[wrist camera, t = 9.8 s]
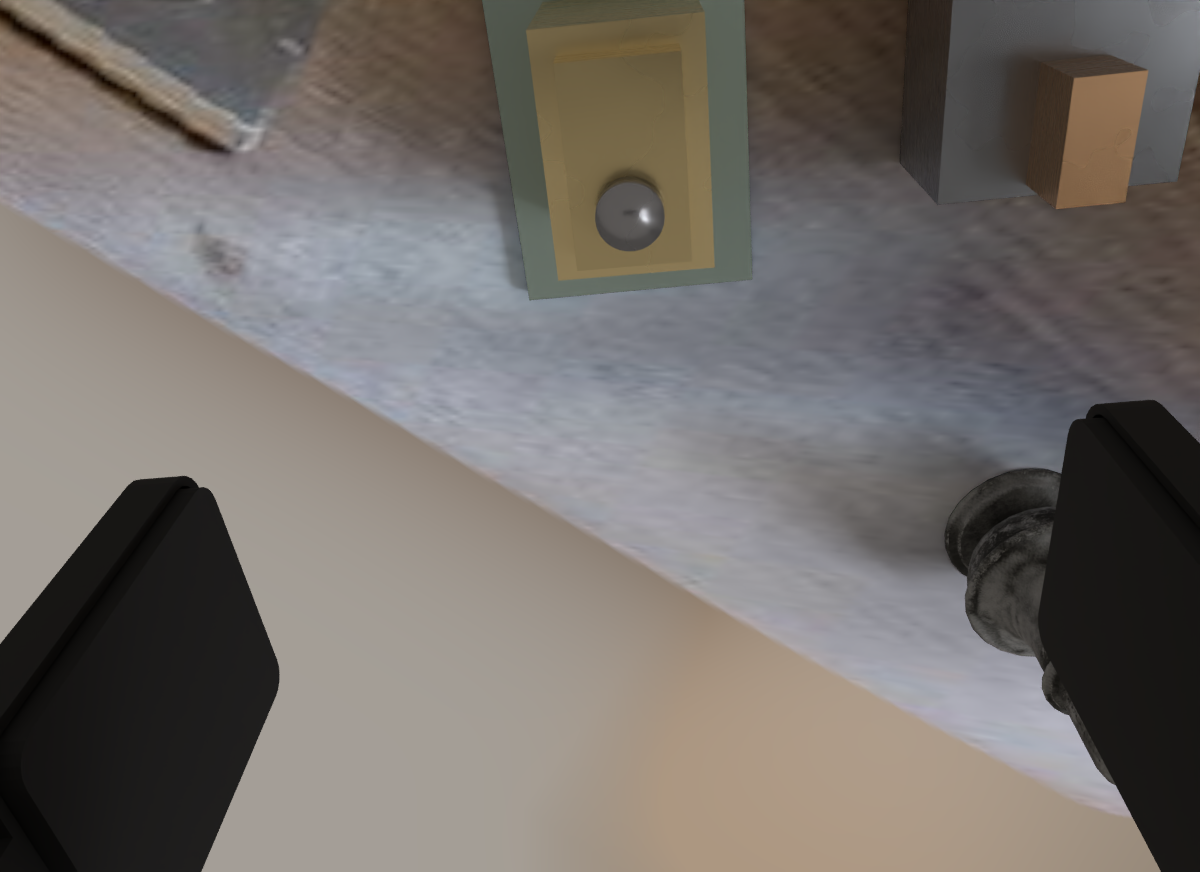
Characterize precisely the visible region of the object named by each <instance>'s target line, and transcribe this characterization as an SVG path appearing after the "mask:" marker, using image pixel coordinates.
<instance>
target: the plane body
mask: <svg viewBox="0 0 1200 872" xmlns="http://www.w3.org/2000/svg"><path fill="white" fill-rule="evenodd" d="M1199 71H1200V0H908V18H907V37H906V56H905V75H904V94H903V113H902V133H901V152H900V164H901V165H902V166H903V167H904V168H905V169H906V170H907V171H908V173H909V174H910V175H911V176H912V177H913V178H914V179H915V180H916V181H917V182H918V184H919V185H920V186H921V187H922V188H923V189H924V190H925V191H926V192H927V193H928V195H929V196H930V197H931V198H932V199H933V200H934V201H935V202H936V203H937V205H940V204H950V203H960V202H971V201H981V200H991V199H1001V198H1012V197H1022V196H1032V195H1039V196H1040V197H1042V198H1043V199H1044V200H1045V201H1046V202H1048V203H1049V204H1050V205H1051V206H1053V207H1054V208H1055V209H1062V208H1073V207H1083V206H1094V205H1104V204H1114V203H1125V200H1126V195H1127V189H1128V186H1135V185H1145V184H1155V183H1166V182H1176V181H1177V180H1178V175H1179V170H1180V165H1181V160H1182V155H1183V150H1184V145H1185V140H1186V135H1187V130H1188V125H1189V121H1190V116H1191V111H1192V106H1193V101H1194V96H1195V91H1196V86H1197V81H1198V76H1199Z"/></svg>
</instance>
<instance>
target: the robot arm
mask: <svg viewBox="0 0 1200 872" xmlns="http://www.w3.org/2000/svg"><path fill="white" fill-rule="evenodd" d="M1038 628H1039V634H1040V638H1041V642H1042V645H1043V647H1044V649H1045V651H1046V653H1047V655H1048V657H1049V659H1050V661H1051V663H1052V665H1053V667H1054V669H1055V670H1056V672H1057V674H1058V676H1059V678H1060V680H1061V682H1062V684H1063V686H1064V688H1065V690H1066V691H1067V693H1068V695H1069V697H1070V699H1071V701H1072V703H1073V705H1074V707H1075V709H1076V710H1077V712H1078V714H1079V716H1080V718H1081V720H1082V722H1083V724H1084V726H1085V728H1086V730H1087V731H1088V733H1089V735H1090V737H1091V739H1092V741H1093V743H1094V745H1095V747H1096V749H1097V750H1098V752H1099V754H1100V756H1101V758H1102V760H1103V762H1104V764H1105V766H1106V768H1107V770H1108V771H1109V773H1110V775H1111V777H1112V779H1113V781H1114V783H1115V785H1116V787H1117V789H1118V790H1119V792H1120V794H1121V796H1122V798H1123V800H1124V802H1125V804H1126V806H1127V808H1128V810H1129V811H1130V813H1131V815H1132V817H1133V819H1134V821H1135V823H1136V825H1137V827H1138V829H1139V830H1140V832H1141V834H1142V836H1143V838H1144V840H1145V842H1146V844H1147V845H1148V848H1149V849H1150V851H1151V853H1152V855H1153V857H1154V859H1155V861H1156V863H1157V864H1158V867H1159V868H1160V870H1161V872H1200V443H1199V442H1198V441H1197V440H1196V439H1195V438H1194V437H1193V436H1192V435H1191V434H1190V433H1189V432H1188V431H1187V430H1186V429H1185V428H1184V427H1183V426H1182V425H1181V424H1180V423H1179V422H1178V421H1177V420H1176V419H1175V418H1174V417H1173V416H1172V415H1171V414H1170V413H1169V412H1168V411H1167V410H1166V409H1165V408H1164V407H1163V406H1162V405H1161V404H1160V403H1158V402H1157V401H1155V400H1143V401H1130V402H1118V403H1105V404H1095V405H1094V406H1092V407H1091V408H1090V410H1089V411H1088V413H1087V415H1086V419H1077V420H1075V421H1073V423H1072V424H1071V426H1070V429H1069V433H1068V438H1067V444H1066V450H1065V456H1064V462H1063V468H1062V474H1061V480H1060V486H1059V492H1058V498H1057V504H1056V510H1055V516H1054V522H1053V528H1052V534H1051V540H1050V546H1049V552H1048V558H1047V564H1046V570H1045V576H1044V582H1043V588H1042V594H1041V600H1040V606H1039V612H1038ZM278 686H279V666H278V662H277V659H276V656H275V653H274V651H273V648H272V646H271V643H270V640H269V638H268V635H267V633H266V630H265V627H264V625H263V622H262V620H261V617H260V615H259V612H258V609H257V607H256V604H255V602H254V599H253V596H252V593H251V591H250V588H249V586H248V583H247V581H246V578H245V575H244V573H243V570H242V567H241V565H240V562H239V560H238V558H237V554H236V552H235V549H234V547H233V544H232V541H231V539H230V536H229V534H228V531H227V528H226V526H225V523H224V520H223V518H222V515H221V513H220V510H219V507H218V505H217V502H216V500H215V498H214V496H213V494H212V493H211V491H210V490H209V489H207V488H204V487H201V488H199V487H198V485H197V483H195V481H194V480H192V478H189V477H187V476H178V477H165V478H153V479H140V480H136V481H133V482H132V483H131V484H129V485H128V486H127V487H126V489H125V490H124V491H123V492H122V494H121V495H120V496H119V497H118V498H117V500H116V501H115V502H114V503H113V505H112V506H111V508H110V509H109V510H108V511H107V512H106V513H105V515H104V516H103V517H102V518H101V520H100V521H99V522H98V524H97V525H96V526H95V527H94V528H93V530H92V531H91V532H90V533H89V534H88V536H87V537H86V538H85V540H84V541H83V542H82V543H81V544H80V546H79V547H78V548H77V549H76V551H75V552H74V553H73V554H72V556H71V557H70V558H69V559H68V561H67V562H66V563H65V564H64V566H63V567H62V568H61V569H60V571H59V572H58V573H57V574H56V575H55V577H54V578H53V579H52V580H51V582H50V583H49V584H48V585H47V587H46V588H45V589H44V590H43V592H42V593H41V594H40V595H39V597H38V598H37V599H36V600H35V602H34V603H33V604H32V605H31V606H30V608H29V609H28V610H27V611H26V613H25V614H24V615H23V616H22V618H21V619H20V620H19V621H18V623H17V624H16V625H15V626H14V628H13V629H12V630H11V631H10V633H9V634H8V635H7V636H6V637H5V639H4V640H3V641H2V643H1V644H0V872H201V871H202V869H203V866H204V864H205V861H206V859H207V857H208V854H209V852H210V850H211V847H212V845H213V843H214V840H215V838H216V836H217V833H218V831H219V829H220V826H221V824H222V822H223V819H224V817H225V814H226V812H227V810H228V807H229V805H230V803H231V800H232V798H233V796H234V793H235V791H236V789H237V786H238V783H239V782H240V779H241V777H242V775H243V772H244V770H245V767H246V765H247V763H248V760H249V758H250V756H251V753H252V751H253V749H254V746H255V744H256V741H257V739H258V736H259V735H260V732H261V730H262V727H263V725H264V723H265V720H266V718H267V716H268V713H269V711H270V709H271V706H272V704H273V701H274V699H275V697H276V694H277V691H278Z"/></svg>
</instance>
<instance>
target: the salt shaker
mask: <svg viewBox="0 0 1200 872" xmlns="http://www.w3.org/2000/svg"><path fill="white" fill-rule="evenodd" d="M1060 480H1061V474H1060V473H1057V472H1053V471H1050V470H1040V469H1025V470H1019V471H1013V472H1008V473H1005V474H1002V475H1000V476H997V477H994V478H992V479H989V480H987V481H986V482H984V483H983V484H981V485H979V486H978V487H976V488H975V489H973V490H972V491H971V492H970V493H969V494H968V495H966V496H965V497H964V498H963V499H962V500H961V501H960V502H959V503H958V505H957V506H956V508H955V510H954V511H953V513H952V514H951V516H950V518H949V521H948V524H947V528H946V531H945V546H946V550H947V552H948V555H949V557H950V559H951V562H952V563H953V565H954V566H955V567H956V568H957V569H958V570H959V571H960V572H961V573H962V574H963V575H965V576H967V590H966V594H965V607H966V614H967V616H968V619H969V621H970V623H971V626H972V628H973V630H974V631H975V632H976V633H977V634H978V635H979V636H980V637H981V638H982V639H983V640H984V641H985V642H987V643H988V644H990V645H992V646H994V647H996V648H997V649H999V650H1001V651H1005V652H1008V653H1012V654H1016V655H1020V656H1034V657H1036V658H1037V660H1038V662H1039V664H1040V665H1041V667H1042V669H1043V671H1044V674H1043V677H1042V690H1043V692H1044V695H1045V698H1046V700H1047V701H1048V702H1049V703H1050V704H1051V705H1052V706H1053V707H1054V708H1055V709H1057V710H1058V711H1060V712H1062V713H1064V714H1067V715H1069V716H1070V718H1071V720H1072V722H1073V724H1074V725H1075V727H1076V729H1077V731H1078V733H1079V735H1080V737H1081V739H1082V741H1083V743H1084V745H1085V747H1086V749H1087V751H1088V752H1089V754H1090V756H1091V758H1092V760H1093V762H1094V764H1095V766H1096V768H1097V769H1098V770H1099V771H1100V772H1101V774H1102V775H1103V776H1104V777H1105V778H1106V779H1107V780H1108V781H1109V782H1110V783H1112V784H1114V785H1115V783H1114V781H1113V779H1112V777H1111V775H1110V773H1109V771H1108V770H1107V768H1106V766H1105V764H1104V762H1103V760H1102V758H1101V756H1100V754H1099V752H1098V750H1097V749H1096V747H1095V745H1094V743H1093V741H1092V739H1091V737H1090V735H1089V733H1088V731H1087V730H1086V728H1085V726H1084V724H1083V722H1082V720H1081V718H1080V716H1079V714H1078V712H1077V710H1076V709H1075V707H1074V705H1073V703H1072V701H1071V699H1070V697H1069V695H1068V693H1067V691H1066V690H1065V688H1064V686H1063V684H1062V682H1061V680H1060V678H1059V676H1058V674H1057V672H1056V670H1055V669H1054V667H1053V665H1052V663H1051V661H1050V659H1049V657H1048V655H1047V653H1046V651H1045V649H1044V647H1043V645H1042V642H1041V638H1040V634H1039V628H1038V612H1039V606H1040V600H1041V594H1042V588H1043V582H1044V576H1045V570H1046V564H1047V558H1048V552H1049V546H1050V540H1051V534H1052V528H1053V522H1054V516H1055V510H1056V504H1057V498H1058V492H1059V486H1060Z"/></svg>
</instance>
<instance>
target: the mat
mask: <svg viewBox="0 0 1200 872" xmlns="http://www.w3.org/2000/svg"><path fill="white" fill-rule="evenodd" d="M548 1H557V0H482V3H483V9H484V15H485V22H486V28H487V34H488V41H489V47H490V53H491V60H492V66H493V72H494V79H495V85H496V91H497V98H498V104H499V110H500V117H501V123H502V129H503V136H504V142H505V148H506V155H507V161H508V167H509V174H510V180H511V186H512V192H513V199H514V205H515V211H516V218H517V224H518V230H519V237H520V243H521V249H522V256H523V262H524V268H525V275H526V281H527V287H528V294H529V300H538V299H549V298H560V297H571V296H581V295H592V294H603V293H614V292H624V291H635V290H646V289H657V288H667V287H678V286H689V285H700V284H710V283H721V282H732V281H743V280H752V255H751V220H750V185H749V151H748V116H747V81H746V46H745V11H744V0H699V2H700V4H701V6H702V8H703V9H704V11H705V31H706V57H707V83H708V108H709V134H710V160H711V185H712V211H713V237H714V263H715V268H703V269H691V270H680V271H668V272H656V273H644V274H632V275H620V276H609V277H597V278H585V279H573V280H561V281H558V275H557V267H556V259H555V251H554V244H553V236H552V228H551V220H550V213H549V205H548V197H547V189H546V181H545V174H544V166H543V158H542V150H541V143H540V135H539V127H538V119H537V112H536V104H535V96H534V88H533V81H532V73H531V65H530V57H529V50H528V42H527V34H526V29H527V28H528V26H529V24H530V23H531V21H532V19H533V18H534V16H535V14H536V12H537V11H538V9H539V7H540V6H541V4H542V2H548Z"/></svg>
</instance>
